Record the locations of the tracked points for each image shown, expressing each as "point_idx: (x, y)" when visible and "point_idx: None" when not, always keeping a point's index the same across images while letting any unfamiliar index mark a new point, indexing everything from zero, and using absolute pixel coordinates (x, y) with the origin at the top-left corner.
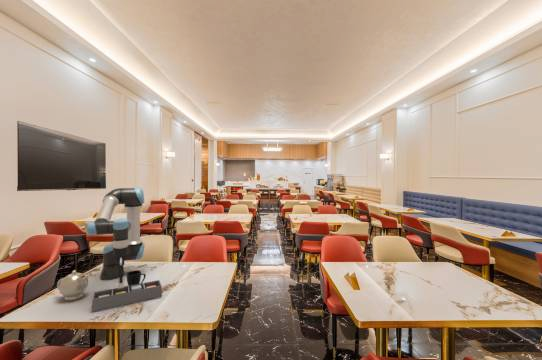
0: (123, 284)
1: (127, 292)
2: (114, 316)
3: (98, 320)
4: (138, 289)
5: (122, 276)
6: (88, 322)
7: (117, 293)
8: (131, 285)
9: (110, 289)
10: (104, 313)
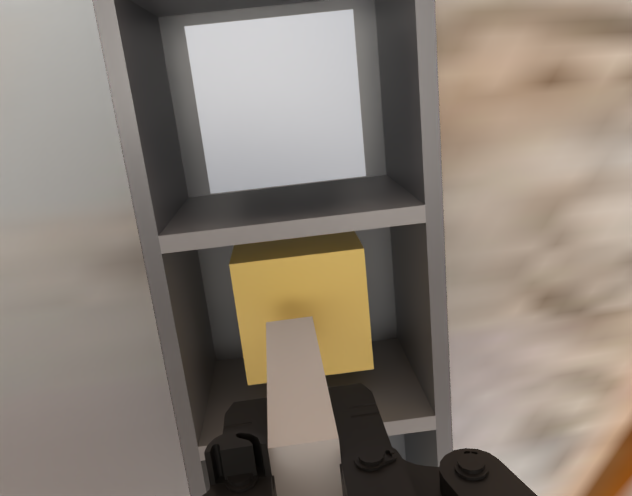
0: (316, 343)
1: (443, 232)
2: (621, 290)
3: (619, 409)
4: (356, 66)
5: (491, 475)
6: (608, 476)
7: None
8: (144, 198)
9: (201, 478)
10: (499, 388)
